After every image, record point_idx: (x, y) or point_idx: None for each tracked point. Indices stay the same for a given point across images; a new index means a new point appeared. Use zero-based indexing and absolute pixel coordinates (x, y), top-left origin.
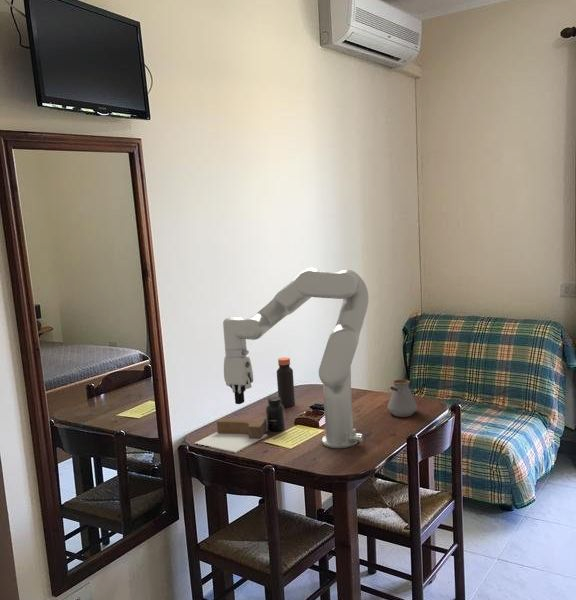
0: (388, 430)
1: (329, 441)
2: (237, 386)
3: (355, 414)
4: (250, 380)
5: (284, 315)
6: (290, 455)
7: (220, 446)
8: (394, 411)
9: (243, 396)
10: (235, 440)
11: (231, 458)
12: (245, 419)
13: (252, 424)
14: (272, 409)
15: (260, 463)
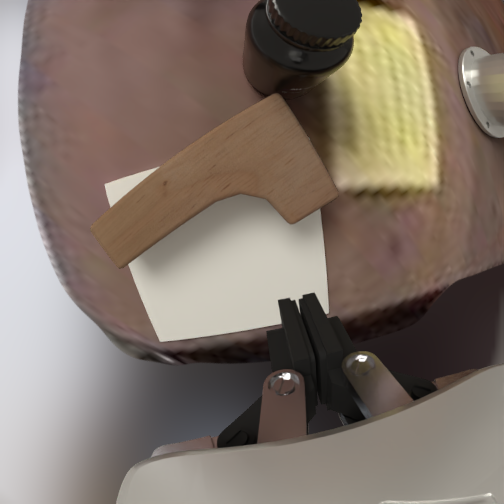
0: (488, 7)
1: (494, 123)
2: (287, 422)
3: None
4: (490, 380)
5: None
6: (456, 226)
7: (253, 318)
8: None
9: (346, 340)
10: (252, 256)
11: None
12: (195, 163)
13: (287, 192)
14: (332, 66)
15: (420, 305)
